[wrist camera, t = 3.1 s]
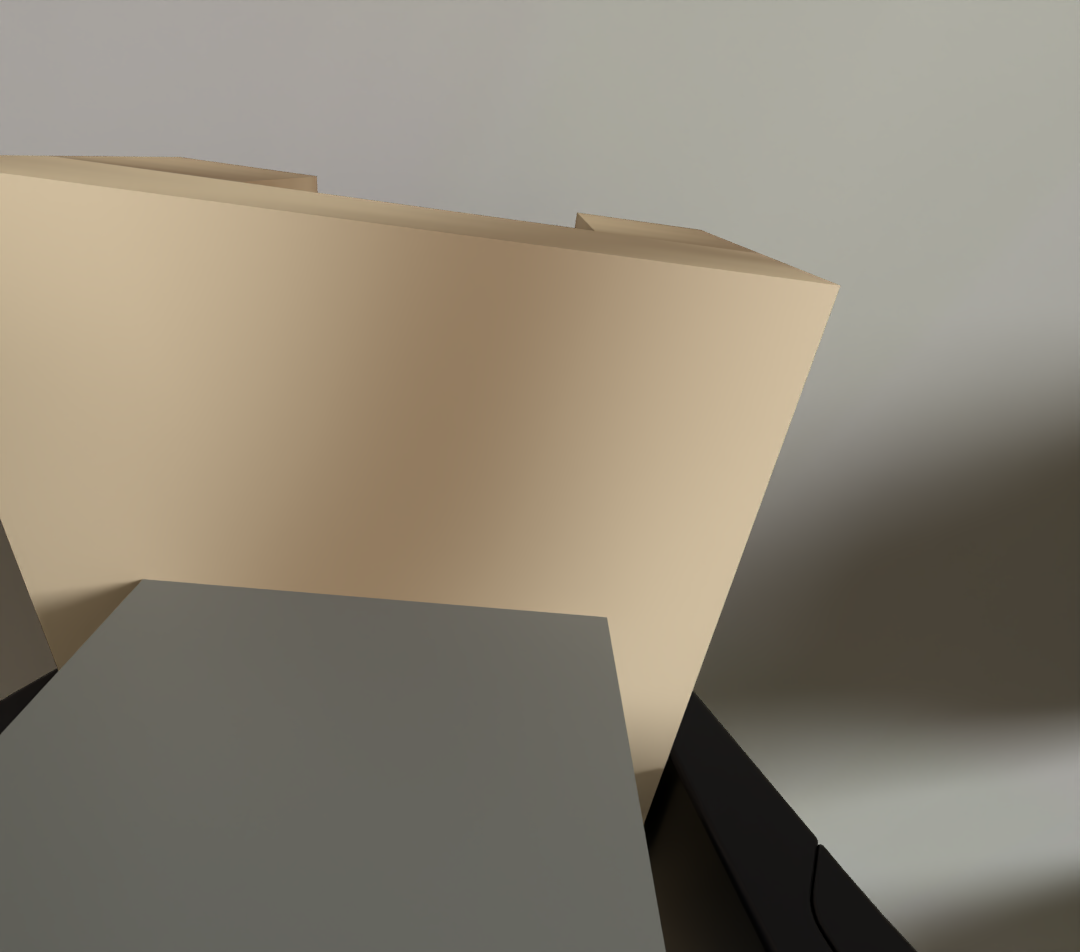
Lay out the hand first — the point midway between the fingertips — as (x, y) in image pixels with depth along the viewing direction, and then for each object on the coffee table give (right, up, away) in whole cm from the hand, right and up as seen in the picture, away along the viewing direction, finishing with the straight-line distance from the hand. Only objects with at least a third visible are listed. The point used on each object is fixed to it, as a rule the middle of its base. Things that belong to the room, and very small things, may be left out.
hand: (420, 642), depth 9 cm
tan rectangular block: (0, +1, +1) cm, 1 cm away
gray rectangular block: (0, -1, -2) cm, 2 cm away
